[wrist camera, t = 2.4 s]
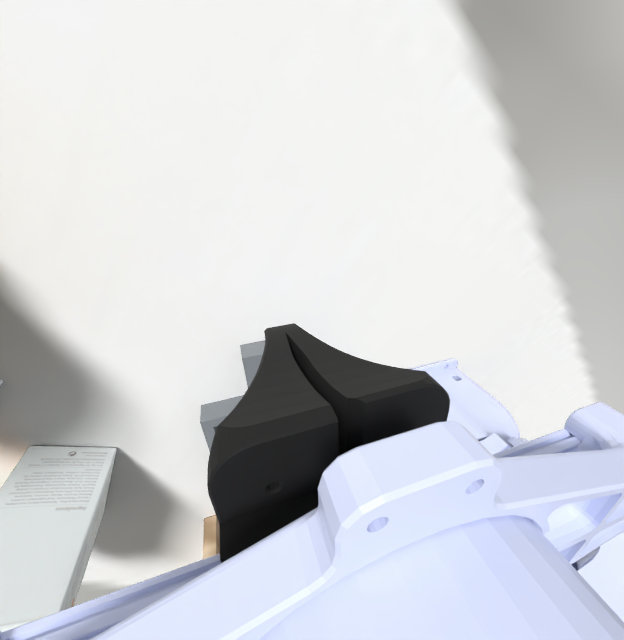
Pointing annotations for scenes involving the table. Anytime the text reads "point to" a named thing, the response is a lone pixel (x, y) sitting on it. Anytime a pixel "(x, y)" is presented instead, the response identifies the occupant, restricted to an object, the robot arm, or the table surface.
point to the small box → (49, 528)
